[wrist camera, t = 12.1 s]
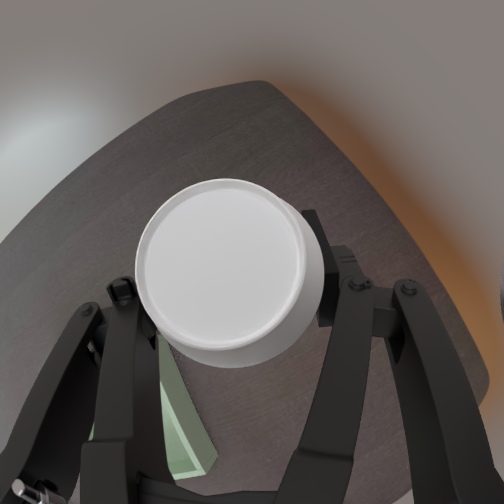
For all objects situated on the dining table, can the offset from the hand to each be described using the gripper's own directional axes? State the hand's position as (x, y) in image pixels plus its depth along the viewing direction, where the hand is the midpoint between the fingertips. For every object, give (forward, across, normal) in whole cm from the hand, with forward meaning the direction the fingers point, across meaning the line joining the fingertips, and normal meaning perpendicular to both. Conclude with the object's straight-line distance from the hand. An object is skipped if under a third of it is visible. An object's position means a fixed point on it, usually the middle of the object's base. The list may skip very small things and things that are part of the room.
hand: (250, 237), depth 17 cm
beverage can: (0, 0, -5) cm, 5 cm away
